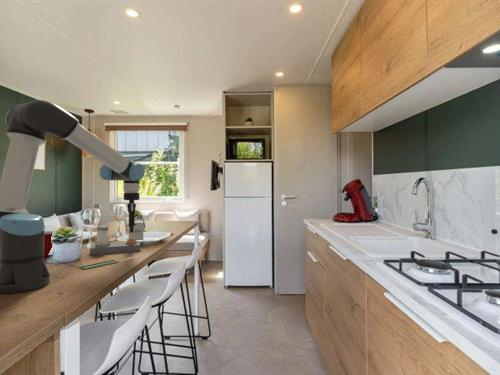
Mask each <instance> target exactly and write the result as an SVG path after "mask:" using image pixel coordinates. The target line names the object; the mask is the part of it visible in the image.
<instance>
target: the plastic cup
mask: <svg viewBox="0 0 500 375" xmlns="http://www.w3.org/2000/svg"><path fill="white" fill-rule="evenodd" d="M54 231H55V230H53V231H51V230H50V231H49V230H47V231H46V230H44V260H45V259H48V258H47V257H48V254H49V252H50V250H51V248H52V243H51V236H52V233H53V232H54Z"/></svg>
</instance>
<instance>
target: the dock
mask: <svg viewBox="0 0 500 375" xmlns="http://www.w3.org/2000/svg"><path fill="white" fill-rule="evenodd" d="M134 252H141V244H140V242H139V241H136V244H127V240H126V241H111V242H108V246H102V247H97V242H96V243H95V242H94V243H92V244H91V246H90V248H89V254H90V256H93V255H95V256H96V255H104V254H106V255H107V254H119V253H134Z"/></svg>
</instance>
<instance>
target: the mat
mask: <svg viewBox="0 0 500 375" xmlns="http://www.w3.org/2000/svg"><path fill="white" fill-rule="evenodd" d="M117 263H119V261H118V260H116V259H112V260H108V261H102V262H97V263H93V264H88V265H83V266H76V265H73V264H71V263H69V265H70V266H72V267H75V268H79V269H80V270H83V271H84V270H89V269H94V268H98V267H104V266H109V265H113V264H117Z"/></svg>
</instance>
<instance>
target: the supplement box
mask: <svg viewBox="0 0 500 375" xmlns="http://www.w3.org/2000/svg"><path fill="white" fill-rule="evenodd" d="M144 222H145V221H144V220H135V224H136V225H134V239H136V240H143V241H144V225H145V223H144Z"/></svg>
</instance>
